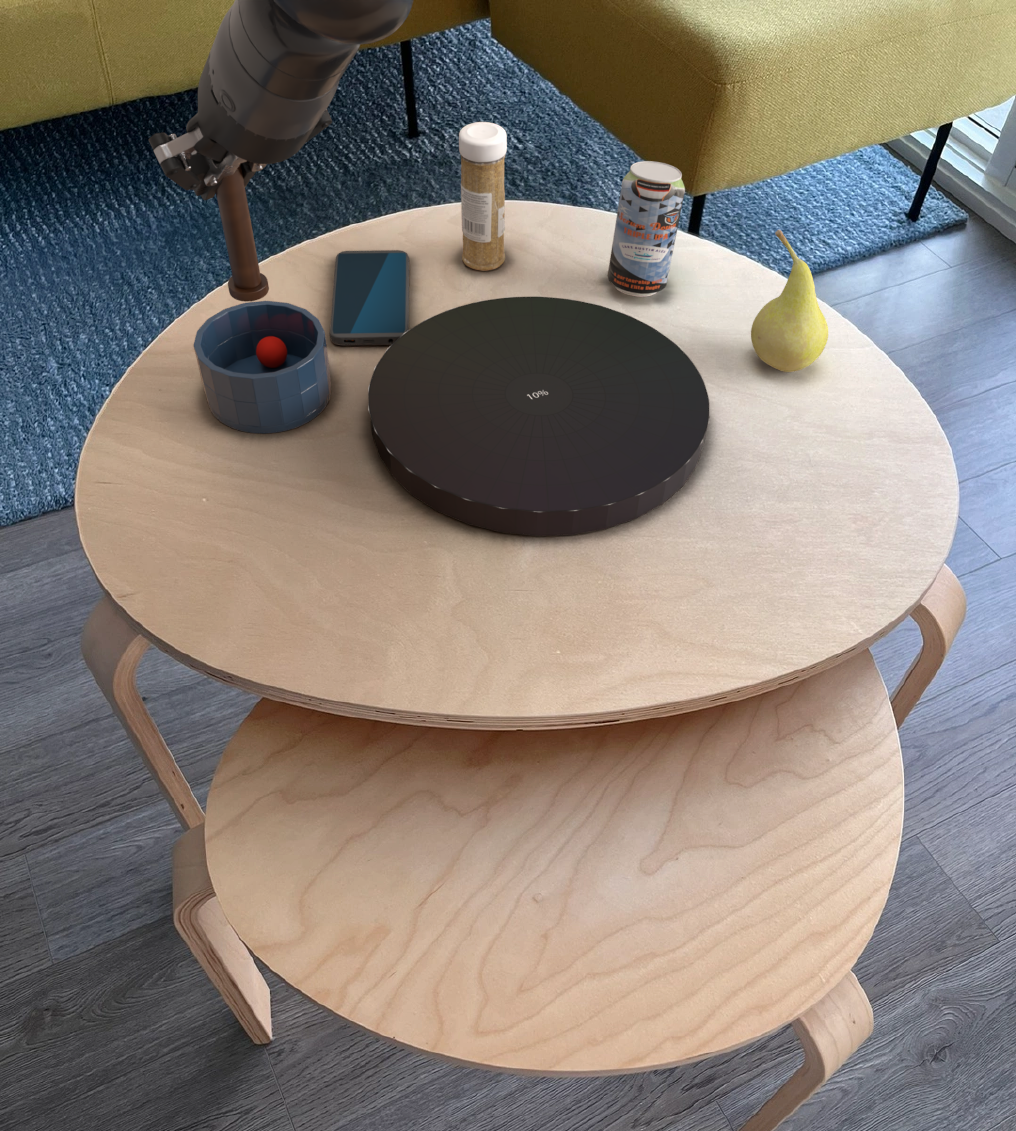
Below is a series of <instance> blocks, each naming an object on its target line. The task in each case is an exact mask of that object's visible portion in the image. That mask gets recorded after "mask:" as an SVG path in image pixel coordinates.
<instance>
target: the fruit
mask: <svg viewBox="0 0 1016 1131" xmlns="http://www.w3.org/2000/svg"><path fill="white" fill-rule="evenodd" d="M774 235H775V236H776V237H777V238H778V240H779V241H780V242H781V244H782V245H783V246H784V247H785V248H786V249H787V251H788V254H789V255H790V257H791V260H792V267H791V270H790V273H789V276H788V278H787V280H786V283H785V285H784V287H783V289H782V291H781V293H780V294H779V295H778V296H777V297H775V298H773V299H771V300H769V301H768V302H767V303H766V304H765V305H763V307H762V308H761V309H760V310H759V312H757V315H756V316H755V317H754V320H753V322H752V325H751V329H750V340H751V344H752V348H753V350H754V352H755V354H756V355H757V357H758V358H759V359H760V360H761V361H763V363H764V364H766V365H768V366H770V367H771V368H774V369H776V370H777V371H779V372H780V371H781V372H784V373H792V372H793V373H794V372H798V371H801V370H803V369H806V368H807V367H809V366H810V365H812V364H813V363H814V362H816V360H817V359H818V358H819V357H820V356H821V355H822V353H823V352H824V350H825V348H826V345H827V343H828V340H829V339H828V338H829V326H828V322H827V320H826V316H825V315H824V313H823V312H822V310H821V307H820V306H819V302H818V299H817V294H816V287H815V286H816V285H815V282H814V278H813V275H812V272H811V269H810V267H809V265H808V264H807V263H806V261H804V260H803V259H801V258H799V257H798V255H797V254H796V252H795V251H794V249H793V247H792V245H791V244H790V243H789V241H788V239H787V237H786V236H785V235H784V233H783V231H782V230H781V229H777V230H776V231H775V233H774Z"/></svg>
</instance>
